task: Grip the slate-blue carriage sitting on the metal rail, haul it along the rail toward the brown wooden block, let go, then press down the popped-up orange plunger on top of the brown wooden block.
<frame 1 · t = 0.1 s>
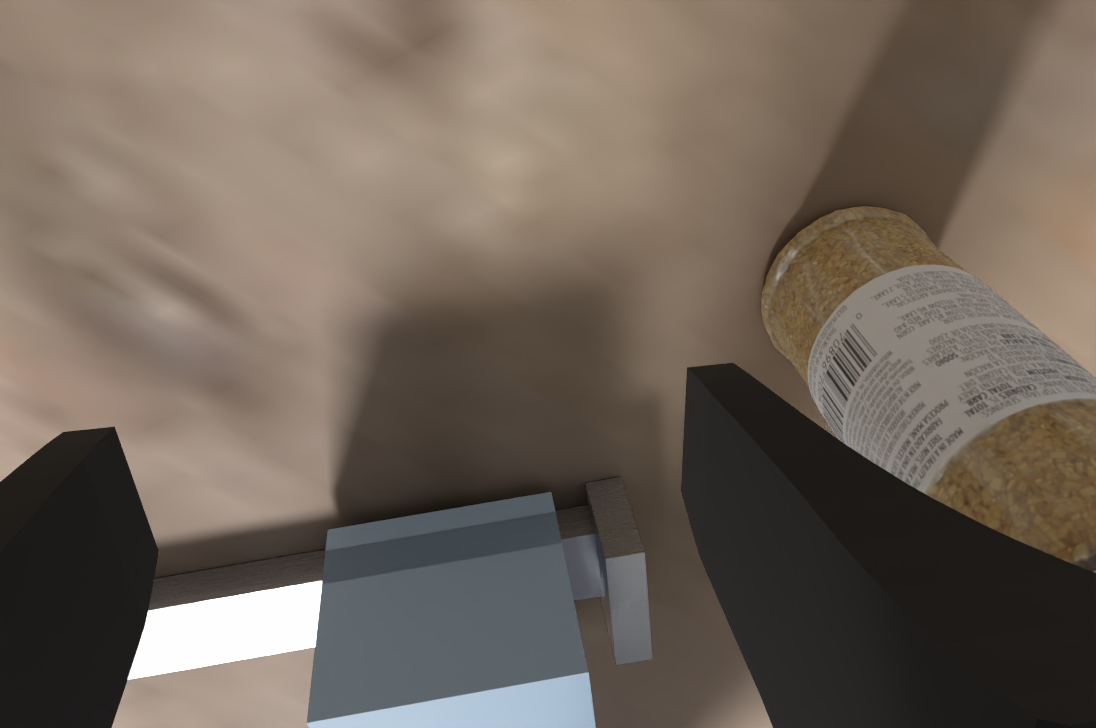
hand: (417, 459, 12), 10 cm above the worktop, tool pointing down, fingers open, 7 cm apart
rail: (171, 608, 26), on the worktop
carriage: (460, 660, 23), point 4 cm above the worktop, slide at 0.0 cm
sprinkles bottle: (839, 279, 23), on the worktop
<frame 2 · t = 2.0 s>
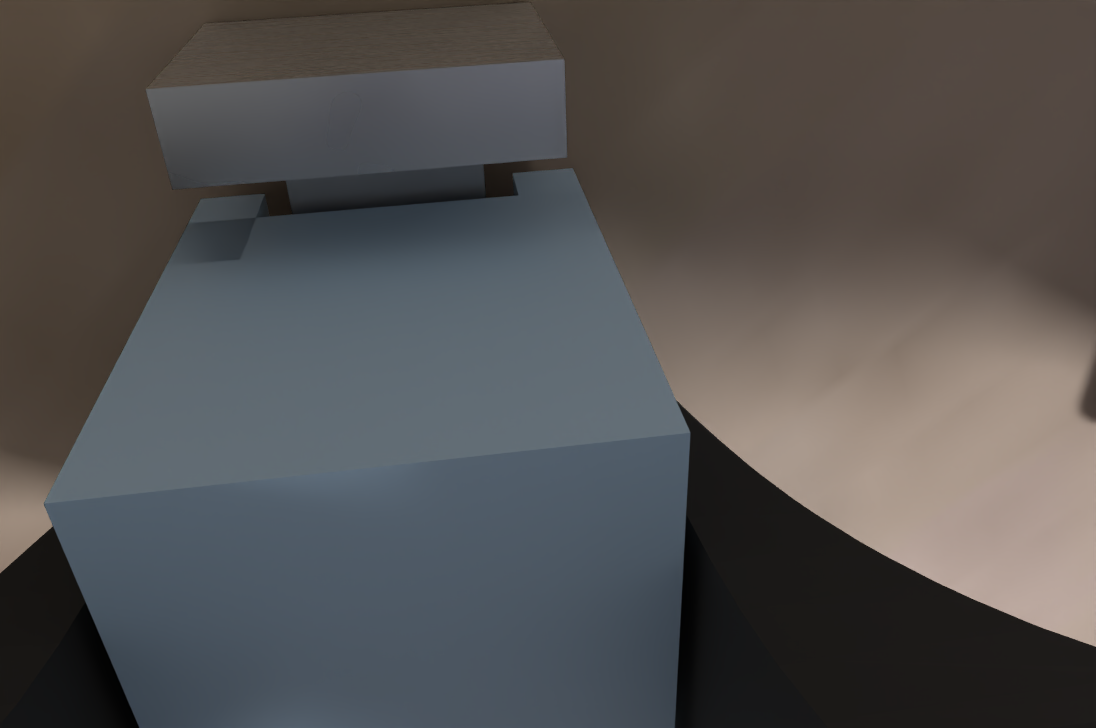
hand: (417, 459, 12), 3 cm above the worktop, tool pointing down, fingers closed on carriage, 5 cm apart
rail: (462, 699, 18), on the worktop
carriage: (418, 510, 11), point 4 cm above the worktop, slide at 0.0 cm, touching gripper
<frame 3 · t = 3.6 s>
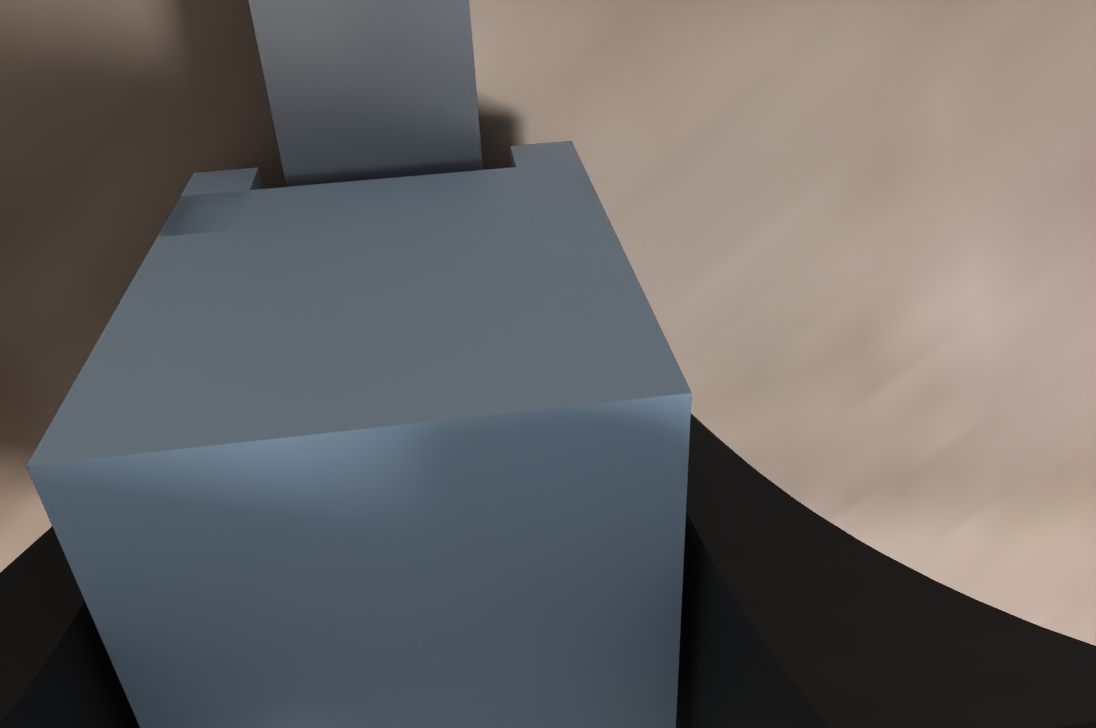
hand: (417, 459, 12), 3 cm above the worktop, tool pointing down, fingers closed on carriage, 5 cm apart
rail: (425, 422, 15), on the worktop
carriage: (415, 487, 11), point 4 cm above the worktop, slide at 6.4 cm, touching gripper
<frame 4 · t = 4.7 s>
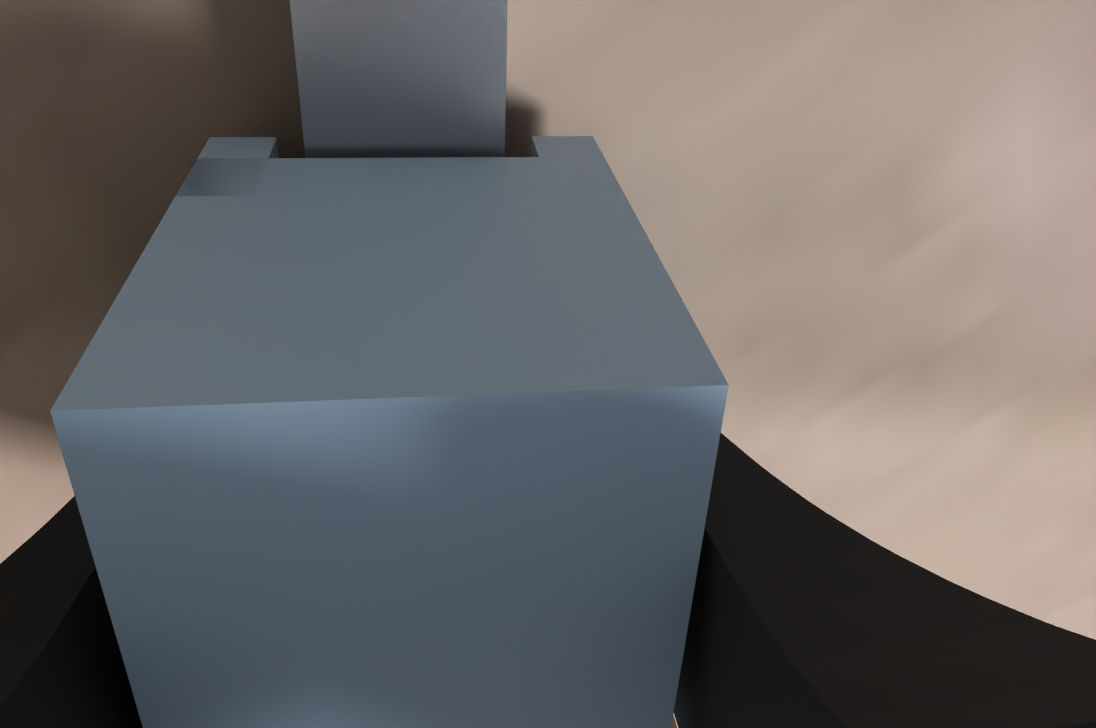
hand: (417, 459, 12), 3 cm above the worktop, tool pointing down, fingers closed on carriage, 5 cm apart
rail: (411, 235, 13), on the worktop
carriage: (416, 470, 11), point 4 cm above the worktop, slide at 9.4 cm, touching gripper
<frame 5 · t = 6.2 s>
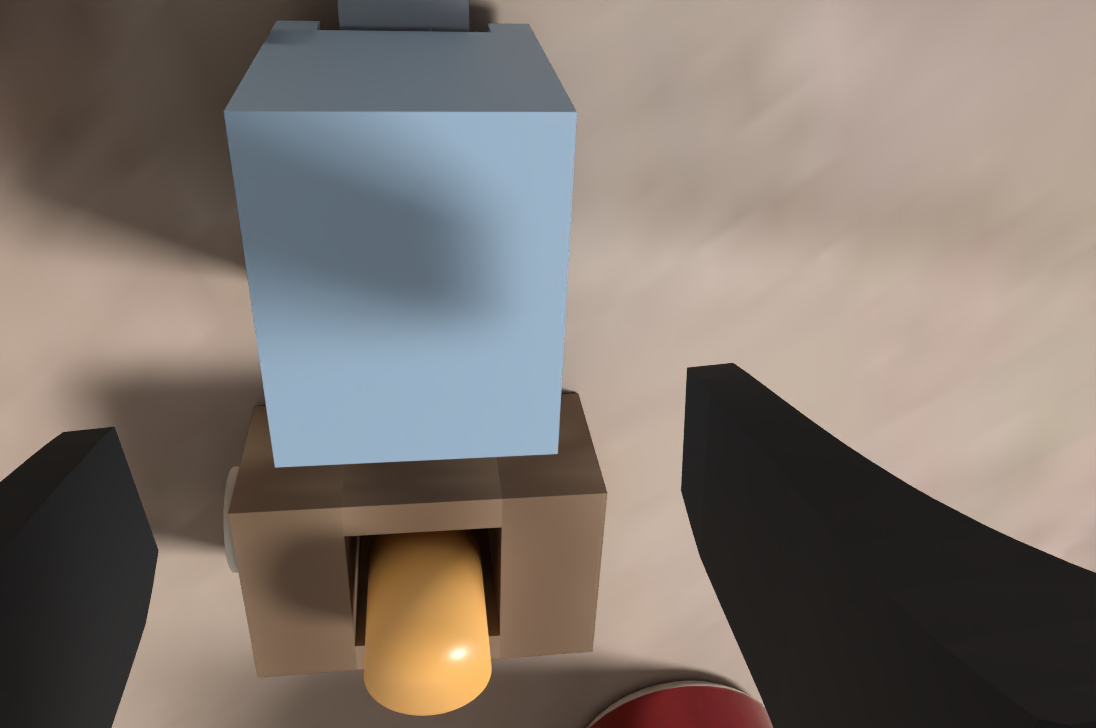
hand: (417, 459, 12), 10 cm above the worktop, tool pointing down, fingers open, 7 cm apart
brown wooden block: (423, 478, 24), on the worktop
rail: (408, 97, 19), on the worktop
carriage: (411, 228, 17), point 4 cm above the worktop, slide at 9.4 cm
plunger: (426, 611, 20), point 5 cm above the worktop, slide at 0.0 cm
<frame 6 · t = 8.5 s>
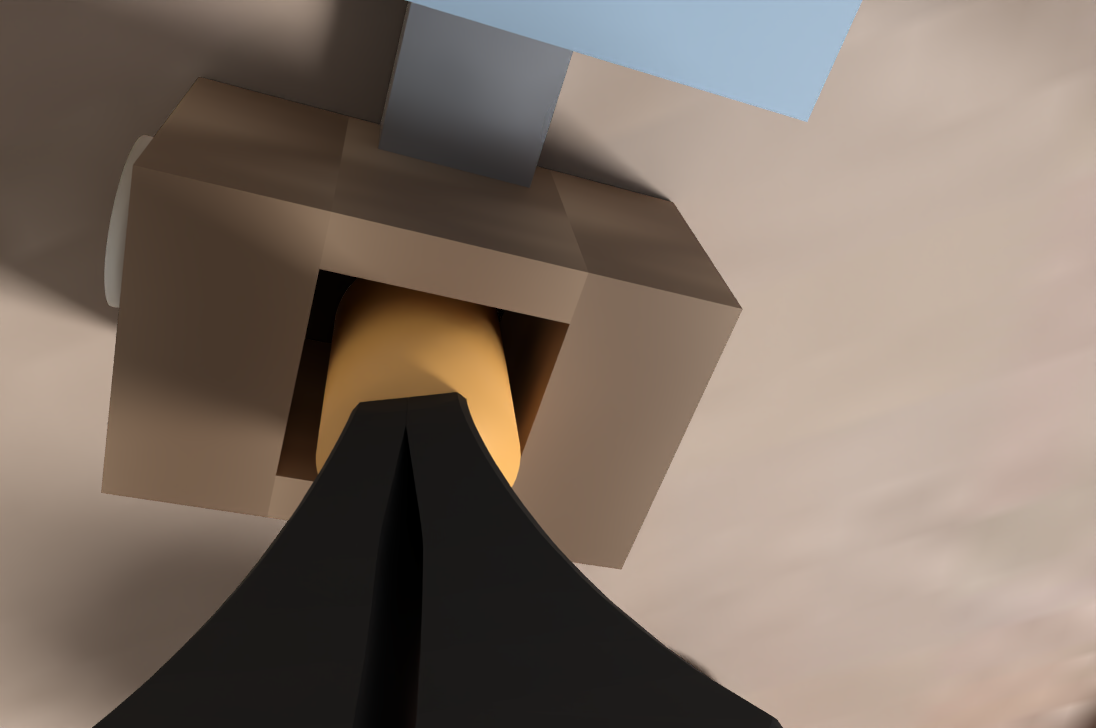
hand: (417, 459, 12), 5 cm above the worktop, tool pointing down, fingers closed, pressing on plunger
brown wooden block: (416, 276, 16), on the worktop
plunger: (418, 388, 13), point 4 cm above the worktop, slide at 1.0 cm, touching gripper
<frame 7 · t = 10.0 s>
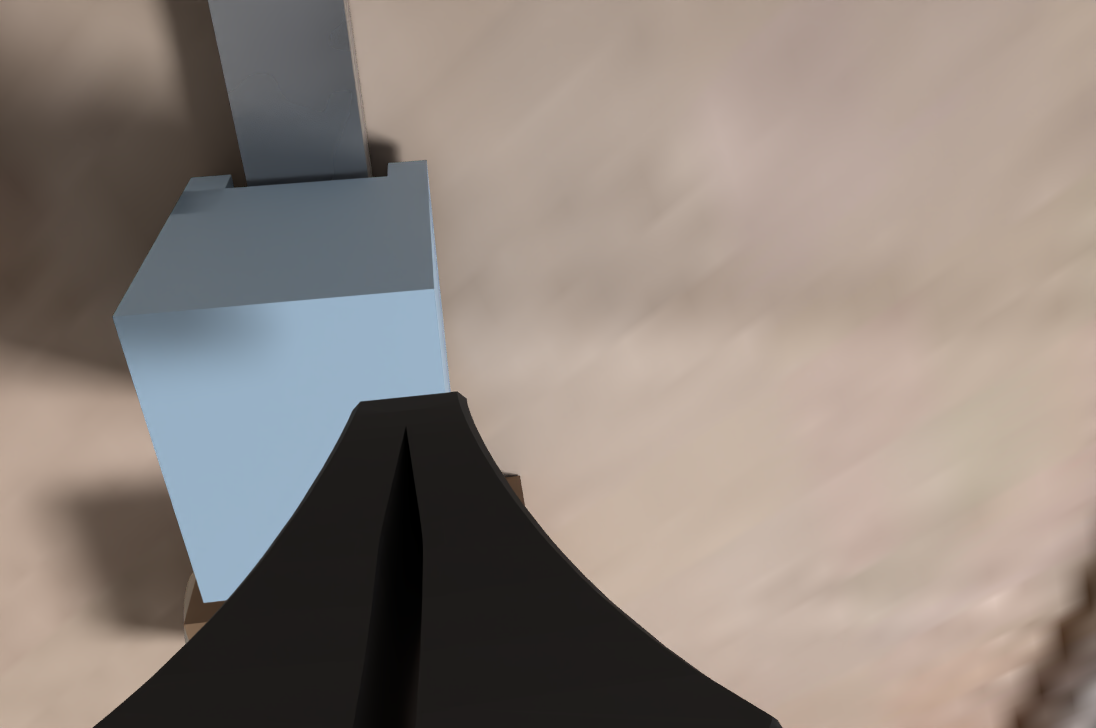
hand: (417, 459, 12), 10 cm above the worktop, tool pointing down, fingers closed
brown wooden block: (381, 561, 26), on the worktop
rail: (324, 229, 20), on the worktop
carriage: (322, 367, 18), point 4 cm above the worktop, slide at 9.4 cm
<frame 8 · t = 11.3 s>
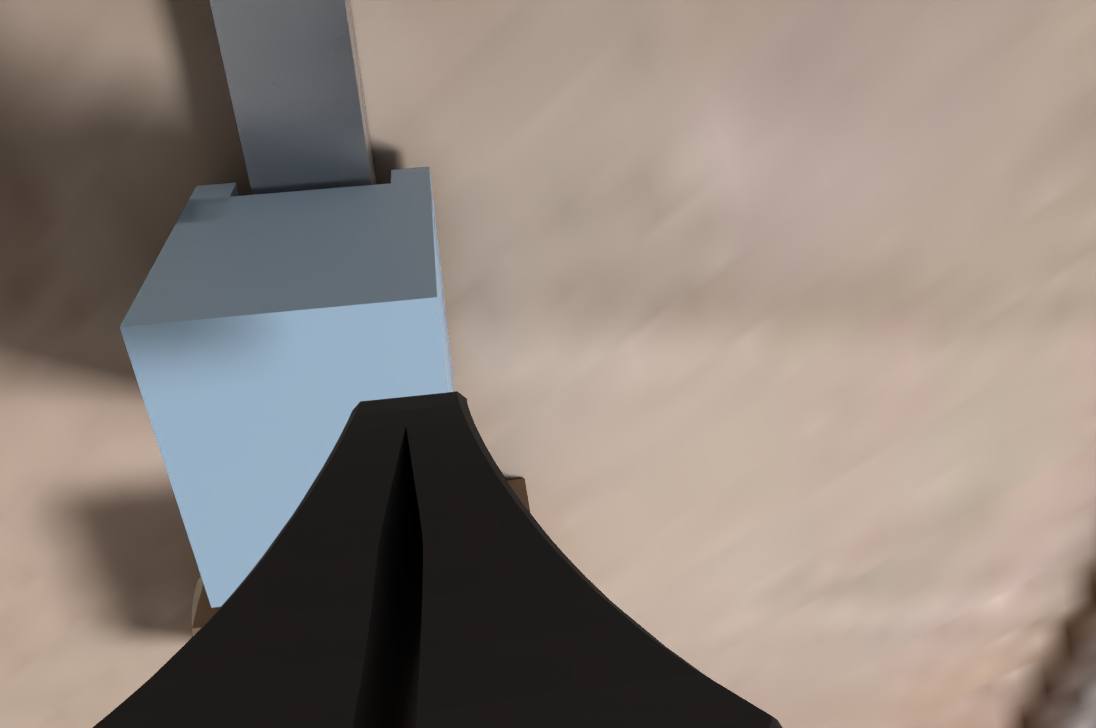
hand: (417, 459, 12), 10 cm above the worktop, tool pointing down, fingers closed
brown wooden block: (387, 563, 26), on the worktop
rail: (329, 235, 21), on the worktop
carriage: (327, 373, 18), point 4 cm above the worktop, slide at 9.4 cm
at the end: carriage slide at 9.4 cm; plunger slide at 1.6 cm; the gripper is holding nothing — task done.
